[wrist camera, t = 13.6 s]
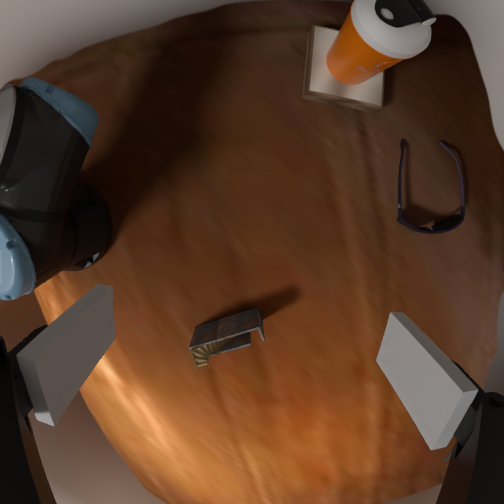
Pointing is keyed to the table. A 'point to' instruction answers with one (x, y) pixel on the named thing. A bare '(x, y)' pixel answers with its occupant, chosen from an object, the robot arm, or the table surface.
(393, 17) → the shaker bottle
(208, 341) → the dark angular channel piece
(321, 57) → the block
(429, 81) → the table surface
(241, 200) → the table surface
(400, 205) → the sunglasses
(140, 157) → the table surface
